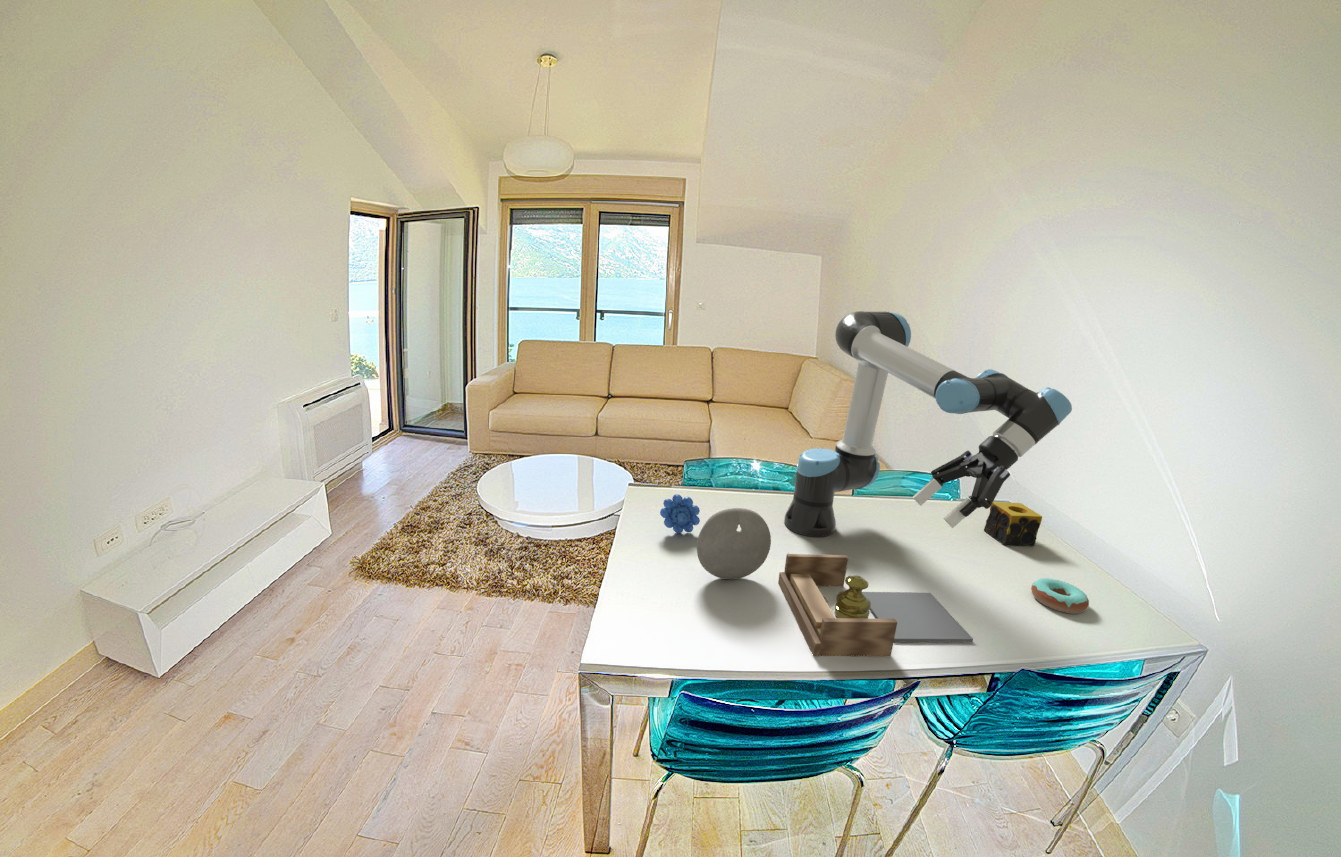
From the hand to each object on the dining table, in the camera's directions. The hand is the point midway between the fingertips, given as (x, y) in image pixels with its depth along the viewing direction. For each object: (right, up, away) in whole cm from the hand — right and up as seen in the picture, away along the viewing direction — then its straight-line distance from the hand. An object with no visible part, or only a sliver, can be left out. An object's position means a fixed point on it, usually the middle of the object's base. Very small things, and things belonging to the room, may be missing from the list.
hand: (931, 511), depth 129 cm
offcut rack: (-23, -24, +1) cm, 33 cm away
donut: (+37, -24, +13) cm, 46 cm away
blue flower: (-56, -12, +35) cm, 67 cm away
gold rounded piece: (-18, -24, +1) cm, 30 cm away
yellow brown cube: (+45, -15, +47) cm, 67 cm away
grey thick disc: (-43, -19, +14) cm, 49 cm away
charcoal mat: (-3, -24, +3) cm, 25 cm away
